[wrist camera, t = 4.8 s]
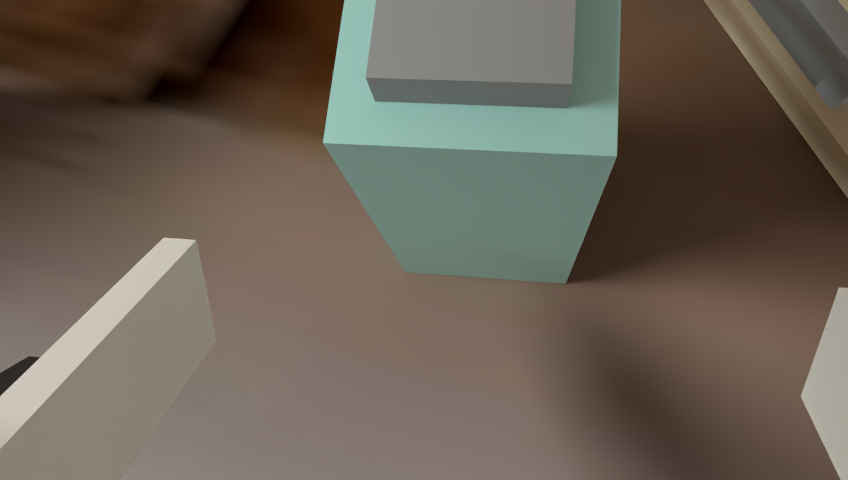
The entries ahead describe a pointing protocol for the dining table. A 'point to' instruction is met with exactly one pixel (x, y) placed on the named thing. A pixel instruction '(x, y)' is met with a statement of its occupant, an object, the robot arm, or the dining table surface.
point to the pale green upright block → (478, 128)
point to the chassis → (799, 66)
